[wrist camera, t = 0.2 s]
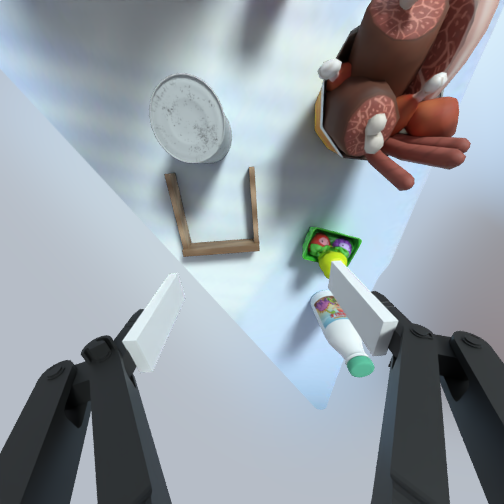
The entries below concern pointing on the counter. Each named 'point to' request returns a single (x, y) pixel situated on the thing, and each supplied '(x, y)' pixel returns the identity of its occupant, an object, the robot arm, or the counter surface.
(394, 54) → the bucket of meat
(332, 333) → the milk bottle
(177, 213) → the dock
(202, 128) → the speckled concrete cylinder
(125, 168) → the counter surface
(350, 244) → the fruit basket
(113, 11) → the counter surface
